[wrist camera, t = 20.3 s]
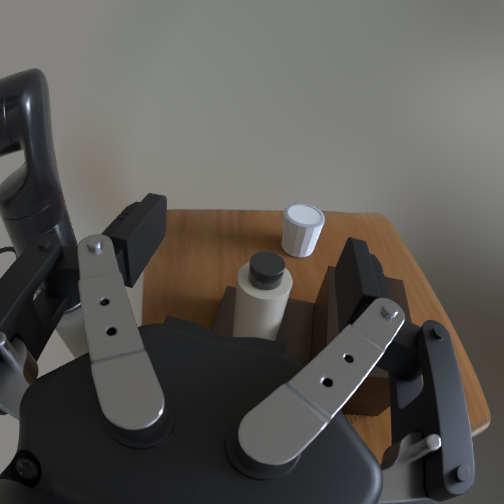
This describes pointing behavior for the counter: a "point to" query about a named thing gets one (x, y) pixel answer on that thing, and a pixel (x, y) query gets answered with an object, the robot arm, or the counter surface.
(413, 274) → the counter surface
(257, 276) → the white bottle
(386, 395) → the stepped wooden block
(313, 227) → the white short tapered cylinder
